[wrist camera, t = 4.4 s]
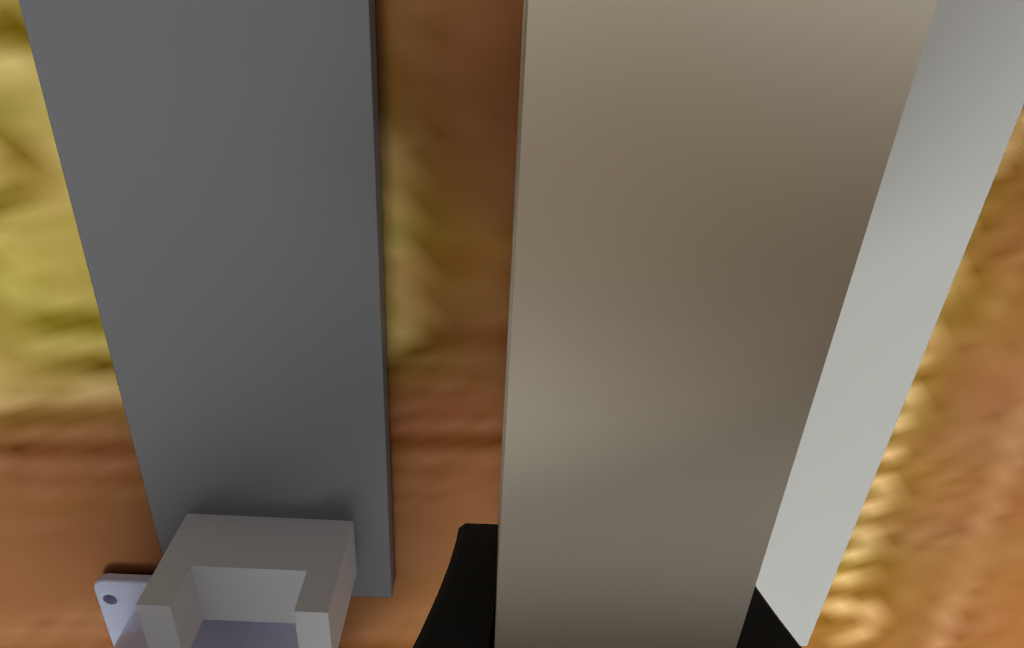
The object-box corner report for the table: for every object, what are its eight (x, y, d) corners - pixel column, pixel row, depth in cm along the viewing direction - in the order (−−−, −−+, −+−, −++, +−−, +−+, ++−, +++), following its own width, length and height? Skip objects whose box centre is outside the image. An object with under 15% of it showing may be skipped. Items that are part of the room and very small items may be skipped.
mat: (801, 632, 28) (806, 645, 27) (498, 619, 28) (497, 633, 27) (1155, -279, 14) (1180, -287, 14) (564, -323, 14) (567, -333, 13)
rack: (394, 580, 27) (373, 693, 23) (180, 570, 26) (121, 683, 22) (367, -212, 15) (313, -264, 11) (-19, -239, 15) (-215, -301, 11)
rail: (599, 880, 18) (612, 1043, 15) (480, 876, 18) (474, 1039, 15) (858, -307, 7) (1080, -460, 4) (539, -326, 7) (554, -493, 4)
